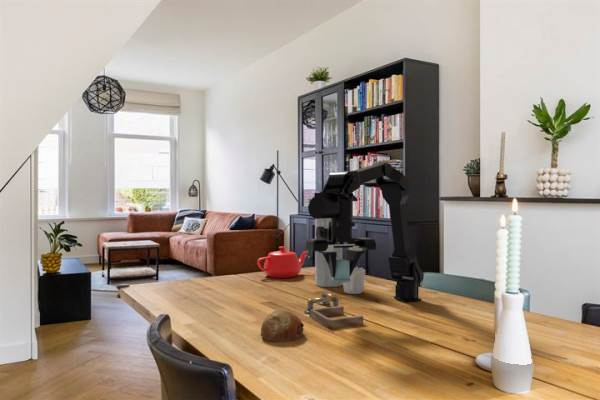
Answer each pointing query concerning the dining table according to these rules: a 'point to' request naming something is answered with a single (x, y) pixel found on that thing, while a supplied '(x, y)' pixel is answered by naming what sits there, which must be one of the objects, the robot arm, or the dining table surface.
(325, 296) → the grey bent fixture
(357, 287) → the cup
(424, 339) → the dining table surface
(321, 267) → the vase
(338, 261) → the spool
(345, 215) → the robot arm
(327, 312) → the dock
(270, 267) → the teapot
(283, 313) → the bread roll
